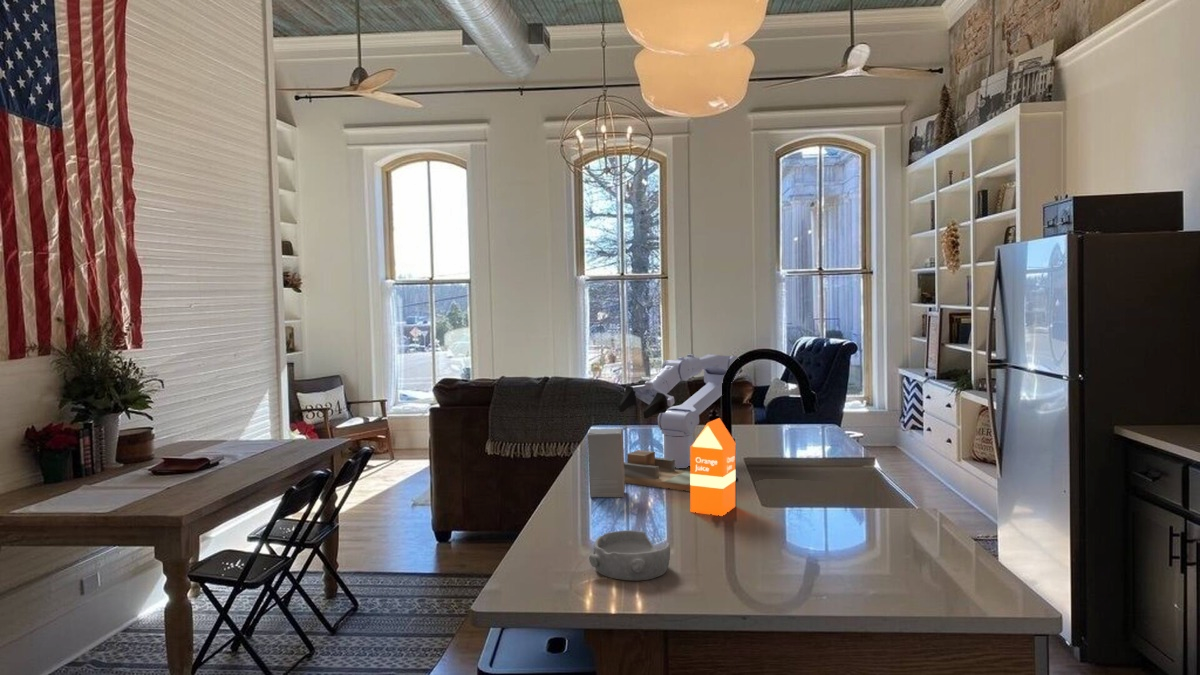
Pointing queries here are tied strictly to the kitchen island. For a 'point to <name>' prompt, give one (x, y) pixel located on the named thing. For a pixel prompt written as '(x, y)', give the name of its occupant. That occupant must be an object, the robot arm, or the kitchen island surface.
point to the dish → (629, 556)
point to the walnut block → (641, 457)
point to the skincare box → (606, 462)
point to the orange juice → (712, 471)
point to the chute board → (659, 481)
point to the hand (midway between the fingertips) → (632, 412)
